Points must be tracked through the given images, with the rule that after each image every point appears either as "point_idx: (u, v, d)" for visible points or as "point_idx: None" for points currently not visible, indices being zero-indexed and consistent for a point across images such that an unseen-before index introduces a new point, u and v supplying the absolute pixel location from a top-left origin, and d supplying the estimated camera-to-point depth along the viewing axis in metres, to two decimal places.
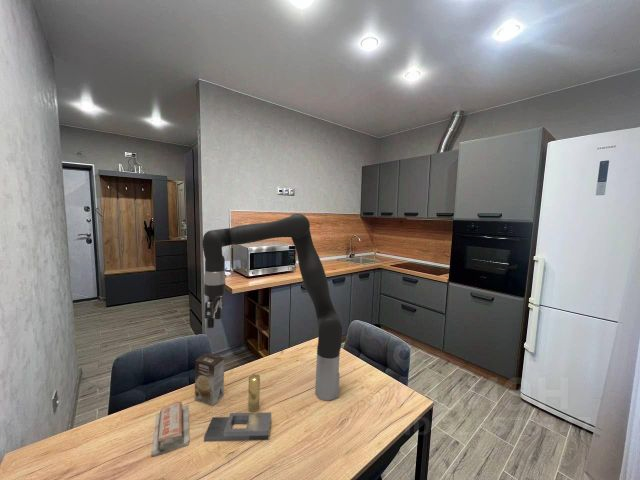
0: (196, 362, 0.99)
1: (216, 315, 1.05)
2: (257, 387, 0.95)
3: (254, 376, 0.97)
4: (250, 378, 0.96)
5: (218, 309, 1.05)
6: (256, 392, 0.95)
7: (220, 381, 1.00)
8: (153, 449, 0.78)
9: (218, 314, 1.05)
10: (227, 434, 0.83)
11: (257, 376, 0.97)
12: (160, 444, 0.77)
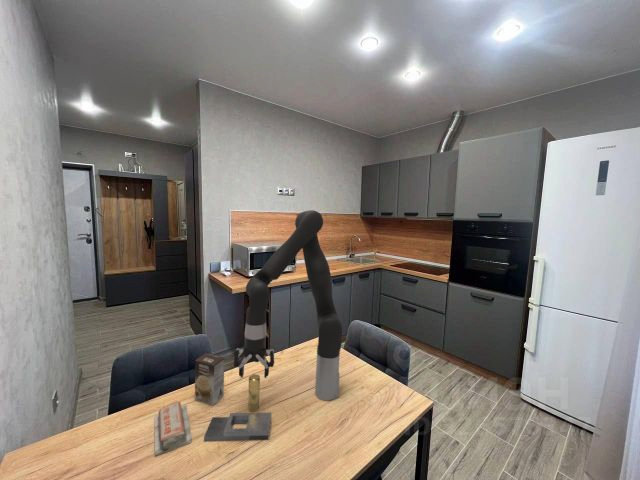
0: (196, 362, 0.99)
1: (242, 373, 0.95)
2: (257, 387, 0.95)
3: (254, 376, 0.97)
4: (250, 378, 0.96)
5: None
6: (256, 392, 0.95)
7: (220, 381, 1.00)
8: (156, 449, 0.78)
9: (243, 370, 0.96)
10: (227, 434, 0.83)
11: (257, 376, 0.97)
12: (163, 443, 0.78)
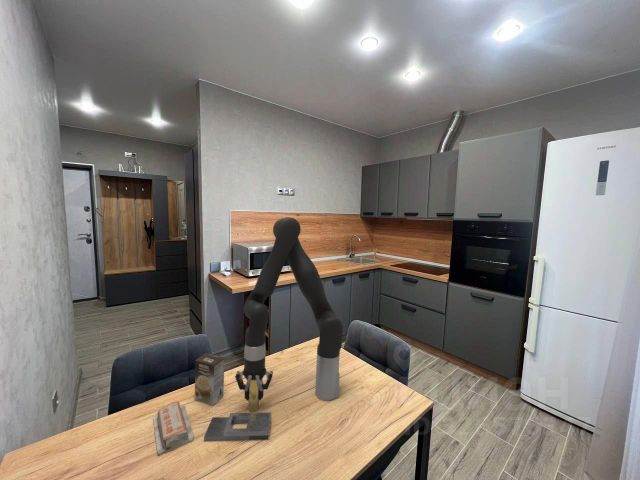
0: (196, 362, 0.99)
1: (248, 396, 0.96)
2: (257, 387, 0.95)
3: None
4: None
5: (248, 388, 0.97)
6: (256, 392, 0.95)
7: (220, 381, 1.00)
8: (158, 448, 0.78)
9: (248, 393, 0.97)
10: (227, 434, 0.83)
11: None
12: (166, 442, 0.78)
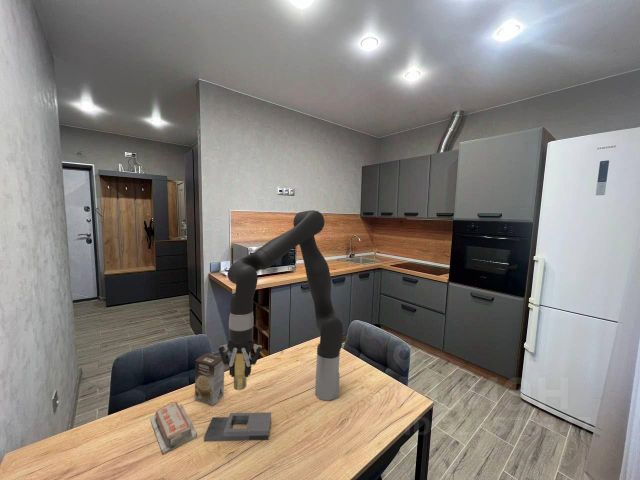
0: (196, 362, 0.99)
1: None
2: (244, 362, 0.84)
3: None
4: None
5: None
6: (242, 367, 0.84)
7: (220, 381, 1.00)
8: (162, 447, 0.78)
9: None
10: (227, 434, 0.83)
11: None
12: (170, 441, 0.79)
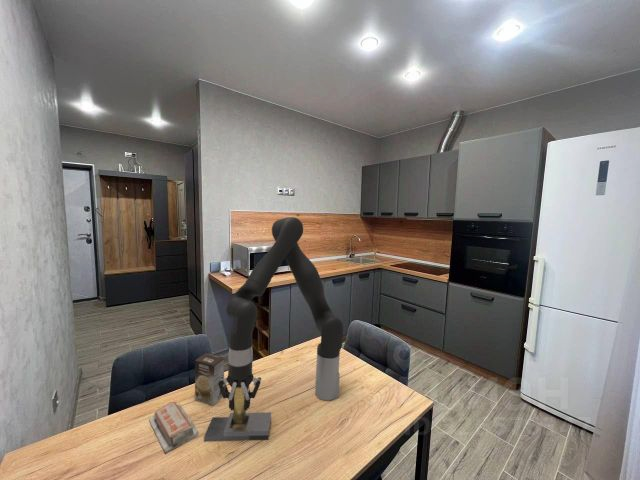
0: (196, 362, 0.99)
1: None
2: (243, 395, 0.85)
3: None
4: None
5: (233, 396, 0.86)
6: (241, 401, 0.84)
7: None
8: (164, 447, 0.79)
9: None
10: (227, 434, 0.83)
11: None
12: (172, 440, 0.79)
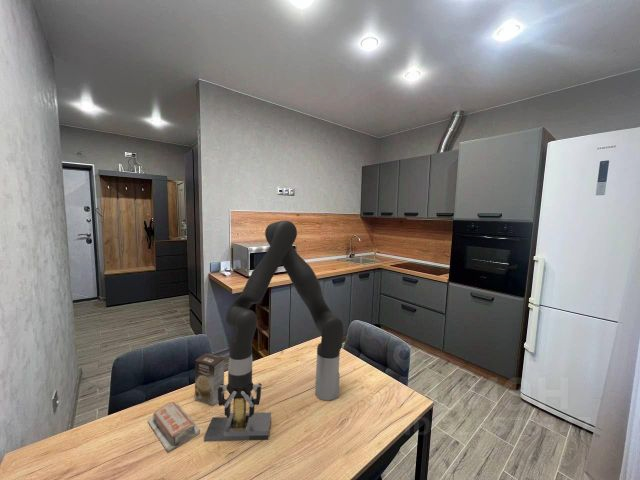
0: (196, 362, 0.99)
1: (229, 412, 0.86)
2: (243, 407, 0.85)
3: None
4: None
5: (229, 403, 0.86)
6: (241, 412, 0.85)
7: (220, 381, 1.00)
8: (166, 446, 0.79)
9: (229, 409, 0.86)
10: (227, 434, 0.83)
11: None
12: (175, 438, 0.79)
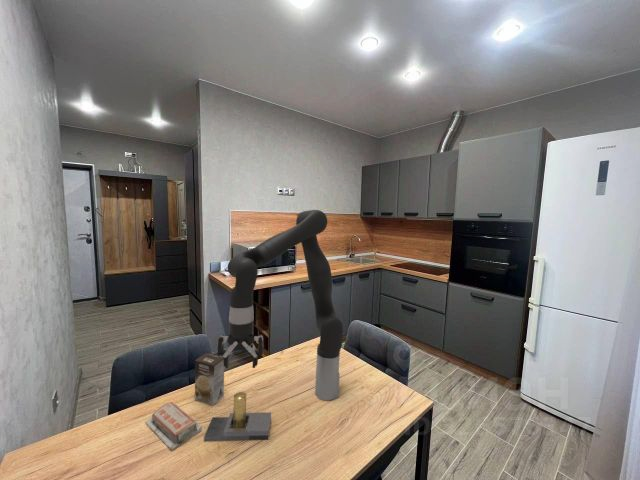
0: (196, 362, 0.99)
1: (228, 363, 0.84)
2: (243, 407, 0.85)
3: (240, 394, 0.87)
4: (235, 397, 0.85)
5: (228, 354, 0.85)
6: (241, 412, 0.85)
7: (220, 381, 1.00)
8: (169, 445, 0.79)
9: (228, 360, 0.85)
10: (227, 434, 0.83)
11: (243, 394, 0.87)
12: (178, 437, 0.80)
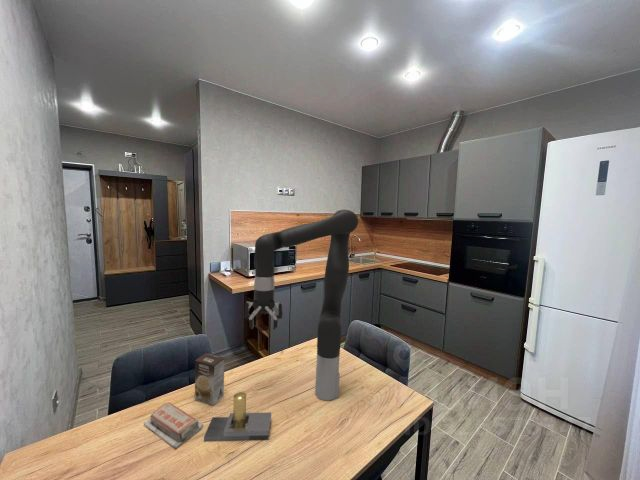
0: (196, 362, 0.99)
1: (252, 325, 1.00)
2: (243, 407, 0.85)
3: (240, 394, 0.87)
4: (235, 397, 0.85)
5: (253, 318, 1.01)
6: (241, 412, 0.85)
7: (220, 381, 1.00)
8: (172, 443, 0.80)
9: (253, 323, 1.01)
10: (227, 434, 0.83)
11: (243, 394, 0.87)
12: (181, 435, 0.81)
